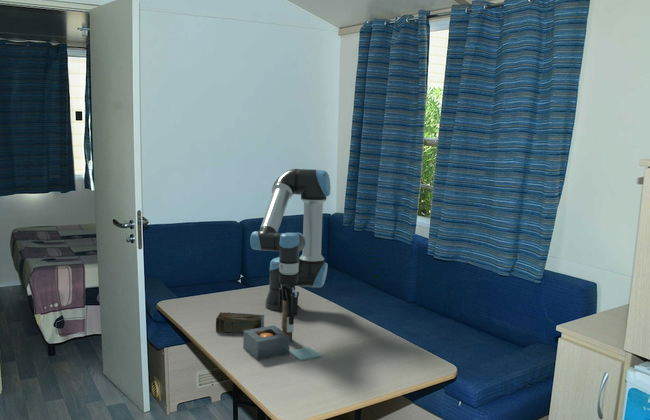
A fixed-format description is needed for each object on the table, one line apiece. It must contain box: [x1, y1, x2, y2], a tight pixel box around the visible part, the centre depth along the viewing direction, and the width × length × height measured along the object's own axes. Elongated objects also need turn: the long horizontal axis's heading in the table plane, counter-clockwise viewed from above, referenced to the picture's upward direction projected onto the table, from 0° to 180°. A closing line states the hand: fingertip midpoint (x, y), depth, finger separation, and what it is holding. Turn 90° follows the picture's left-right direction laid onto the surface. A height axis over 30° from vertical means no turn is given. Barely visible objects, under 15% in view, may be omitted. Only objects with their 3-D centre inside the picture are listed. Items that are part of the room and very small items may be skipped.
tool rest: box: [289, 346, 322, 362], centre depth 223 cm, size 9×9×1 cm
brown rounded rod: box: [281, 300, 293, 342], centre depth 237 cm, size 4×4×16 cm
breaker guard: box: [242, 325, 291, 361], centre depth 225 cm, size 13×13×7 cm
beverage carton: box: [215, 312, 265, 334], centre depth 247 cm, size 8×19×7 cm, turn 88°
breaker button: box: [260, 333, 273, 338], centre depth 225 cm, size 5×5×5 cm
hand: (287, 329), depth 237 cm, fingers closed on brown rounded rod, 4 cm apart
